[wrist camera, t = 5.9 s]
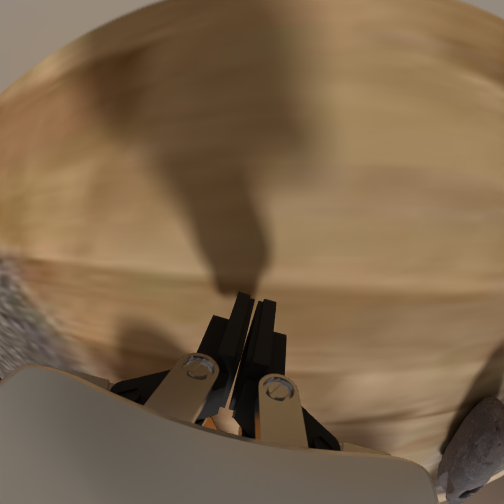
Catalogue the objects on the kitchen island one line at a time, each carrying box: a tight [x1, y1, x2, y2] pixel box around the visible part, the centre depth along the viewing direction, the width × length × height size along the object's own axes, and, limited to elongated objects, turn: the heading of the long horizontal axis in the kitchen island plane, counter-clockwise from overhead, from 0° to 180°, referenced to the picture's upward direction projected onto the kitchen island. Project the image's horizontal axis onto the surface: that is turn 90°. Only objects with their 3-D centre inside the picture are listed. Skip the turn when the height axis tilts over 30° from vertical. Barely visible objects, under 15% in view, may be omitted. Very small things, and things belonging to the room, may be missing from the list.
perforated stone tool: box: [437, 396, 504, 504], centre depth 13 cm, size 15×5×7 cm, turn 14°
